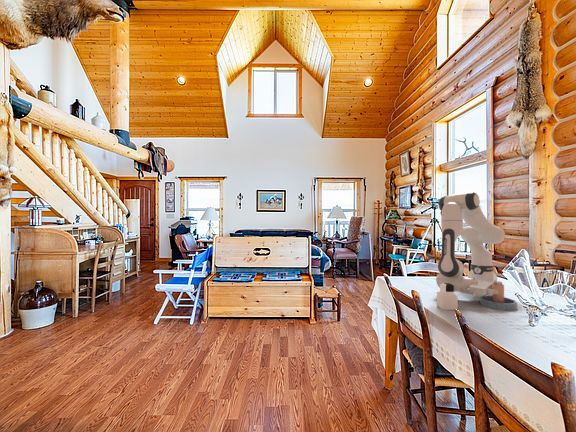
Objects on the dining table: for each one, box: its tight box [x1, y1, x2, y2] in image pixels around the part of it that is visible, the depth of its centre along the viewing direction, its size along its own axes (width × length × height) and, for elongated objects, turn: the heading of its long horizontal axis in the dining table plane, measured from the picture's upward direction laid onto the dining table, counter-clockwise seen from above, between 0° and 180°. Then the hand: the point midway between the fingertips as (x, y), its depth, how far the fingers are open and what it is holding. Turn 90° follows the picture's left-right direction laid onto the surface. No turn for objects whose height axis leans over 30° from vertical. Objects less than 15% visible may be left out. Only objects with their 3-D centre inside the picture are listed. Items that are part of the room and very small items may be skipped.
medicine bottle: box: [436, 283, 459, 311], centre depth 151 cm, size 7×7×12 cm
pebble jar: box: [491, 280, 505, 303], centre depth 154 cm, size 5×5×12 cm
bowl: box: [479, 295, 518, 311], centre depth 154 cm, size 15×15×3 cm
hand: (500, 290), depth 154 cm, fingers open, 8 cm apart
